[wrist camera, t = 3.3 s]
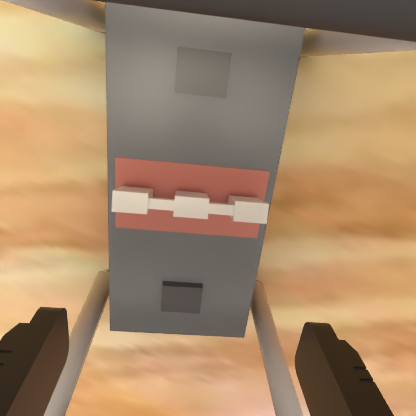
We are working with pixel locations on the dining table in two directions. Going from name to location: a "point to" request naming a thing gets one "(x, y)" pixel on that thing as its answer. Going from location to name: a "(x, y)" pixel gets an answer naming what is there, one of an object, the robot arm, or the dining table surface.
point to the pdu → (192, 170)
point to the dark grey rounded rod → (307, 14)
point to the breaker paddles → (189, 205)
